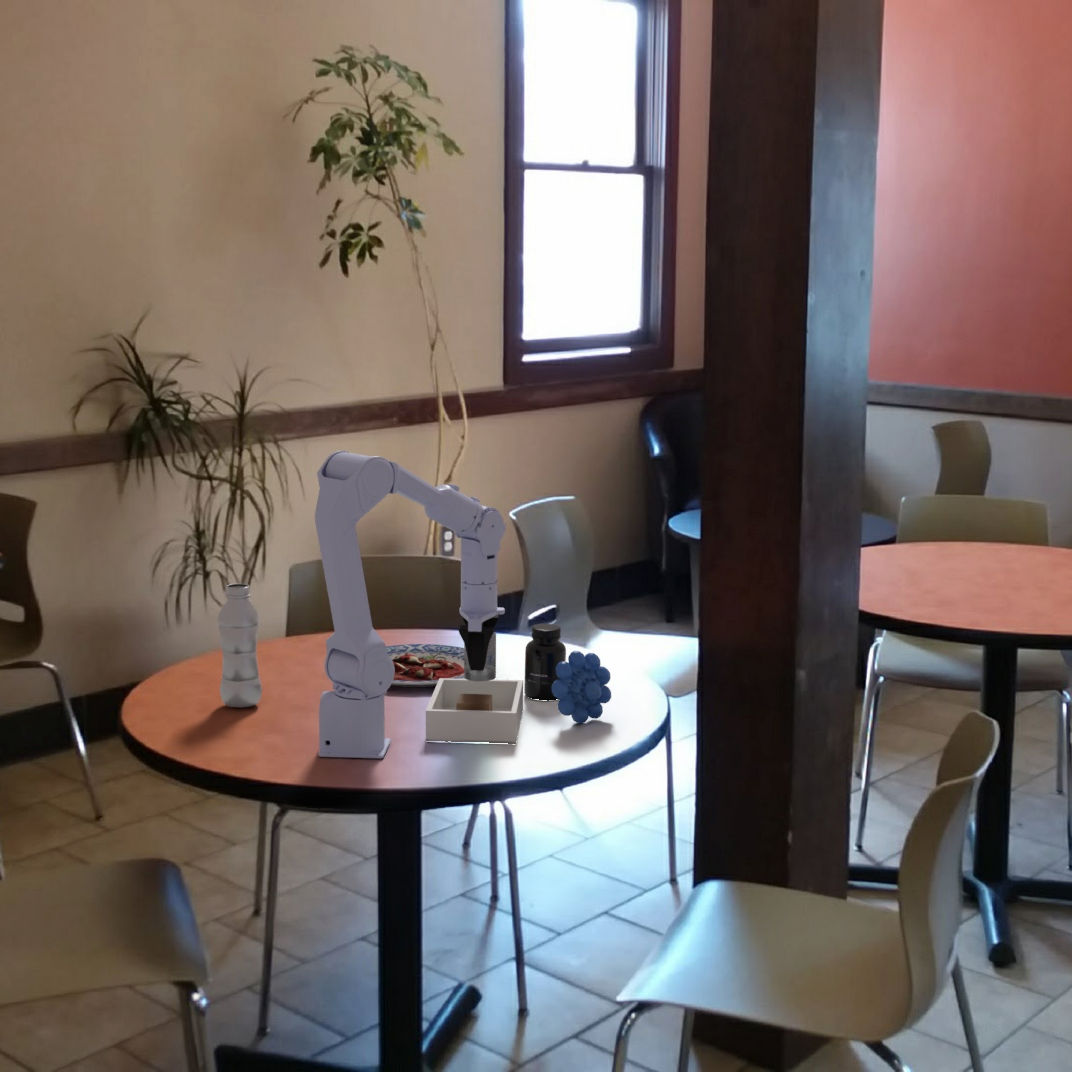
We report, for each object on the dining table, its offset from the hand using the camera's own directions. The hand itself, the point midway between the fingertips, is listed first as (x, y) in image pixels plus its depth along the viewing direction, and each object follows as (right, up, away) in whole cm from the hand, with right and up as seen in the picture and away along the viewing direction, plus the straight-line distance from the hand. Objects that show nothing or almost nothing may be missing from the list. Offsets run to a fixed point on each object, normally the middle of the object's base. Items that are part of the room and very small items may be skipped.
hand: (478, 665), depth 223 cm
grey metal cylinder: (0, -2, 0) cm, 2 cm away
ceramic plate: (-12, -4, +27) cm, 30 cm away
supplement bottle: (+11, -7, +14) cm, 19 cm away
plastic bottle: (-39, -7, +6) cm, 40 cm away
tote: (0, -9, -2) cm, 10 cm away
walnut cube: (0, -9, -6) cm, 11 cm away
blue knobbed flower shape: (+17, -9, -1) cm, 19 cm away
